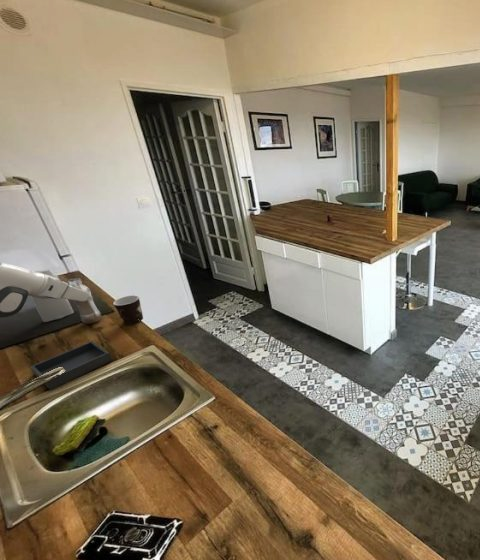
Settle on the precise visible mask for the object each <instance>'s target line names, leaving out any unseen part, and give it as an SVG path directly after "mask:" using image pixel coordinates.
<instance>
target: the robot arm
mask: <svg viewBox="0 0 480 560" xmlns="http://www.w3.org/2000/svg"><path fill="white" fill-rule="evenodd" d="M58 278H59V277H58ZM58 278H56V277H53V276H49V275H46V274H43V273H38V272H36V271H32V270H30V269H28V268H26V267H22V266H20V265H17V264H16V265H15V264H11V263H7V262H0V319H1V318H3V319H4V318H9V317H12V316H14V315H17V314H18V313H19V312H20V311H21V310H22V309H23V308H24V307H25V304H26V302H27V300H28V296H29V297H31V296H33V297H37V298H41V299H47V298H54V299H60V298H62V299H68V301H69V300H70V301H73V300H75V301H82V302H85V301H86V300H88V301H92V299H93V300H94V297H93V296H92V297H90V296H89V295H90V294H89V293H87V292H85V291H83V290H80V289H78V288H75V287H72V286H70V285H69V282H65V281H62V280H61V279H60V278H59V279H58Z"/></svg>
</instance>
